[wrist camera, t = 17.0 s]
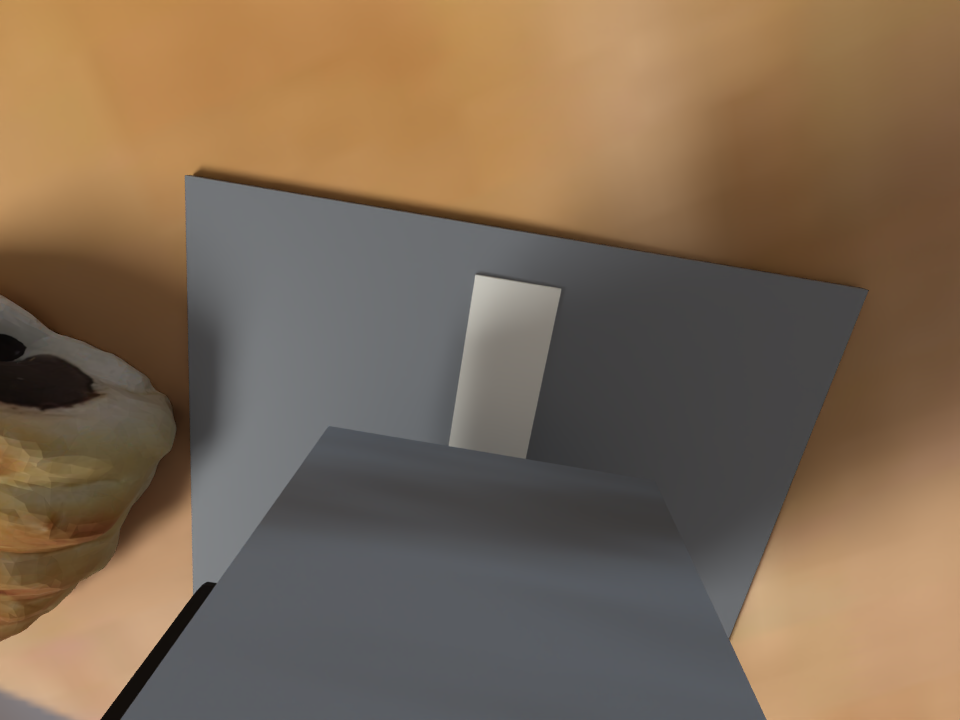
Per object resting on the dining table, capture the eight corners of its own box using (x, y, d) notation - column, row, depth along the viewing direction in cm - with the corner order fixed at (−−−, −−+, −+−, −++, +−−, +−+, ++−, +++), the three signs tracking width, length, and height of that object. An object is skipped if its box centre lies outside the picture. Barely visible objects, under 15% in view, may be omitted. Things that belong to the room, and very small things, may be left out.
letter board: (190, 175, 11) (182, 175, 11) (862, 288, 11) (871, 291, 11) (198, 653, 16) (192, 662, 15) (685, 734, 16) (688, 744, 15)
